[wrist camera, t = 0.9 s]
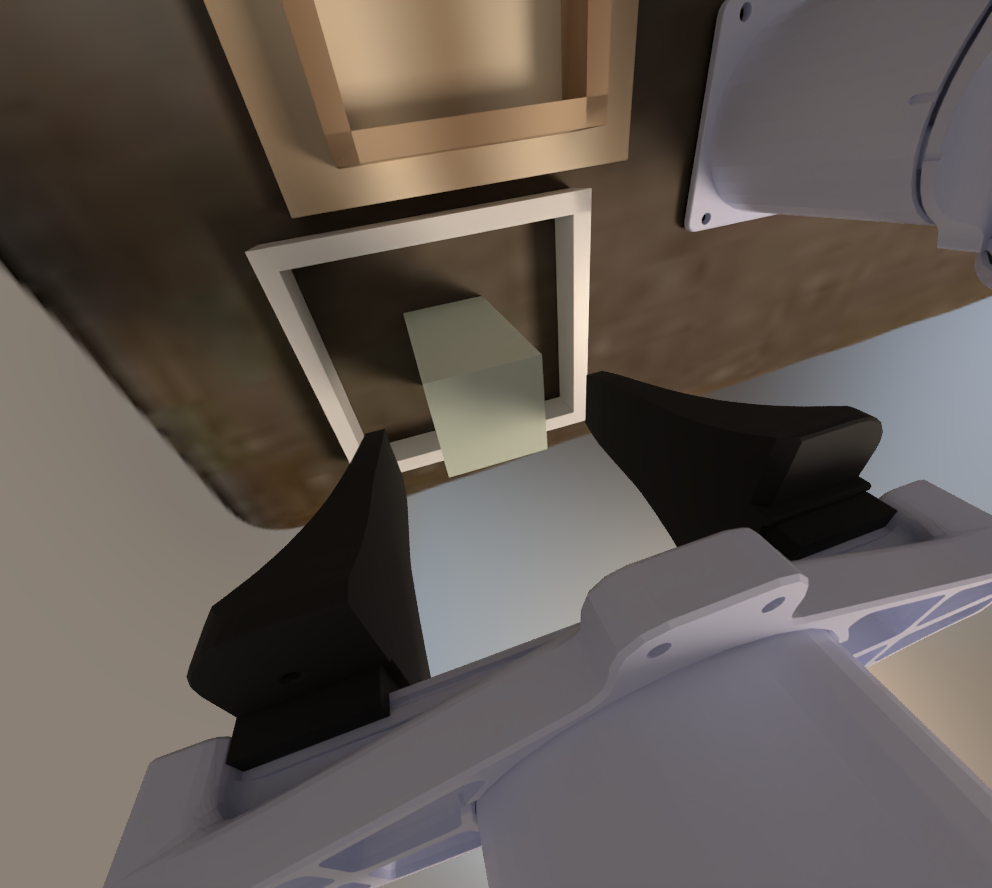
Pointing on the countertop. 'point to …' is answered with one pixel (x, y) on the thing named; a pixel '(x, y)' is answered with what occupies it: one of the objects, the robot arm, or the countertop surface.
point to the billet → (478, 384)
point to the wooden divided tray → (428, 91)
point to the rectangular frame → (562, 205)
